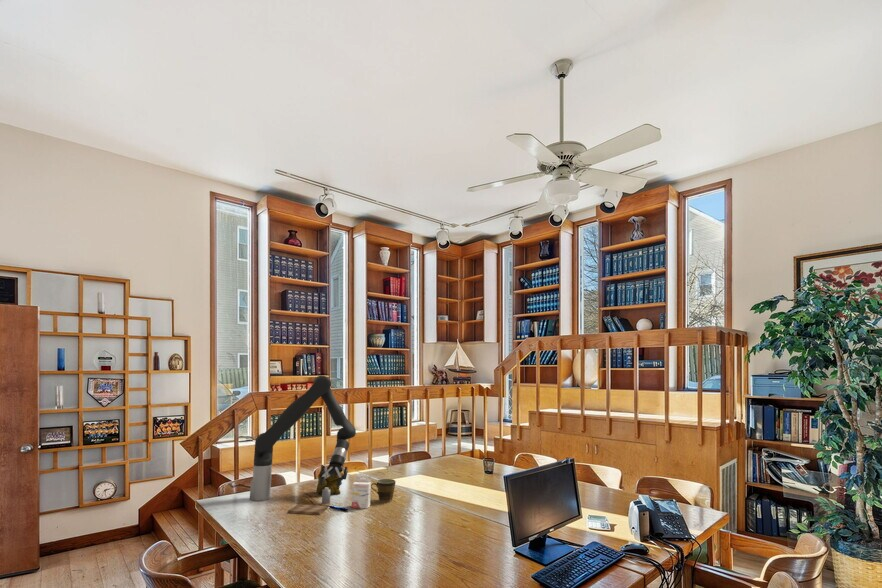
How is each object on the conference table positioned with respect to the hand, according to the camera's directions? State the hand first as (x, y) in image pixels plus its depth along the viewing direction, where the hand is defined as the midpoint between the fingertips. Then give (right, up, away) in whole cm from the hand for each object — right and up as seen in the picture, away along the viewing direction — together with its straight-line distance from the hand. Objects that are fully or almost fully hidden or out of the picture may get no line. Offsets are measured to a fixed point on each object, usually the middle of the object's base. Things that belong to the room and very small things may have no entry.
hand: (329, 485), depth 245 cm
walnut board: (-7, -7, -14) cm, 17 cm away
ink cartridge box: (+17, -8, -7) cm, 20 cm away
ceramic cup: (+27, -10, +4) cm, 29 cm away
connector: (-1, -8, -5) cm, 10 cm away
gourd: (-5, -12, +19) cm, 23 cm away
